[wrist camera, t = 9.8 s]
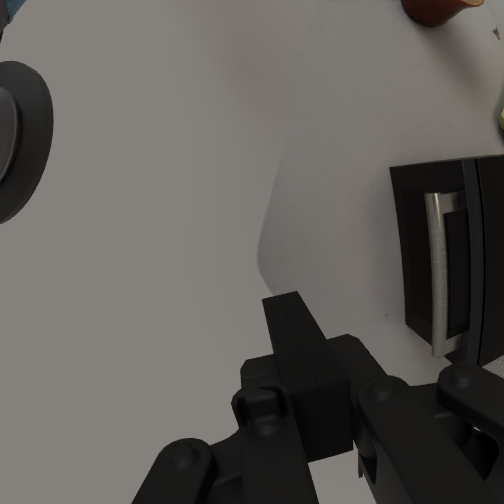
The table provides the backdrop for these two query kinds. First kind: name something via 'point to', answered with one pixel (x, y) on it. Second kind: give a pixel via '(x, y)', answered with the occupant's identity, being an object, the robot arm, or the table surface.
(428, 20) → the mug
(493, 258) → the oven
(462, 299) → the oven door
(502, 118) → the lettuce
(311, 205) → the table surface
